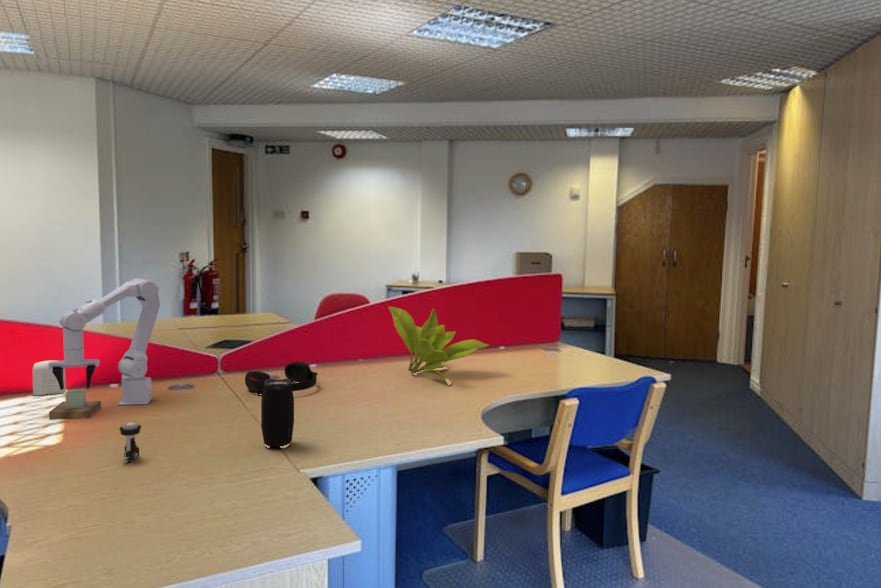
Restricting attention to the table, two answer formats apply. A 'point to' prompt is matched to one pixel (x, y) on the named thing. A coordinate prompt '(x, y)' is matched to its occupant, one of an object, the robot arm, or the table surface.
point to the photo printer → (45, 379)
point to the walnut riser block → (75, 411)
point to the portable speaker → (277, 412)
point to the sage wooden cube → (76, 398)
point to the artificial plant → (430, 342)
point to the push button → (130, 440)
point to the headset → (292, 371)
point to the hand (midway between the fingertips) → (75, 388)
